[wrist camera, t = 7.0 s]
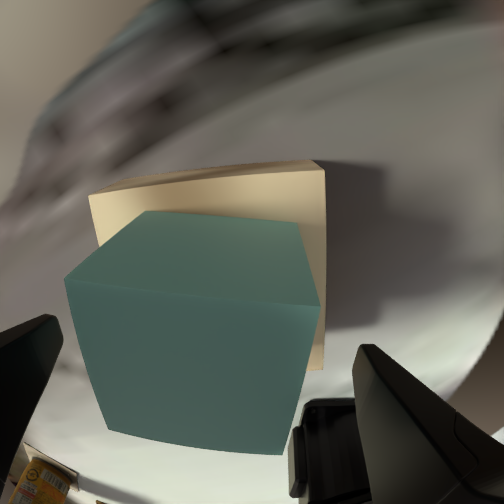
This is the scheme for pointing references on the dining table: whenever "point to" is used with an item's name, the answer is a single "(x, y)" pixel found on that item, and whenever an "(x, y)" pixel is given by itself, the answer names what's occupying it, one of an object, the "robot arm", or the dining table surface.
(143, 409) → the teal cube
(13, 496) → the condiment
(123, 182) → the beech block
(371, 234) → the dining table surface
